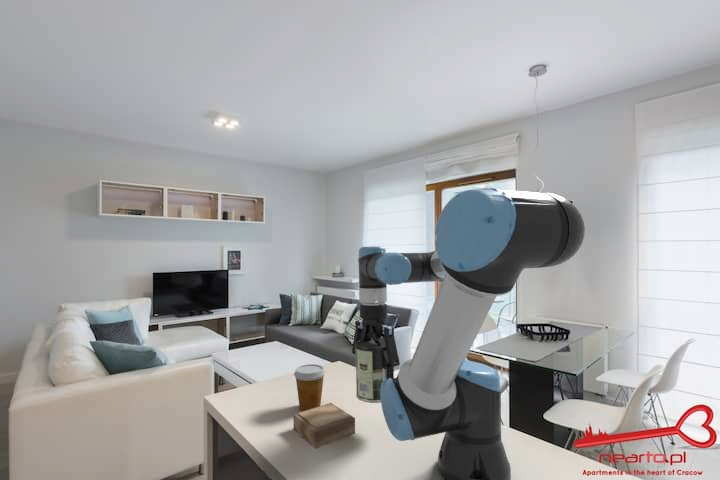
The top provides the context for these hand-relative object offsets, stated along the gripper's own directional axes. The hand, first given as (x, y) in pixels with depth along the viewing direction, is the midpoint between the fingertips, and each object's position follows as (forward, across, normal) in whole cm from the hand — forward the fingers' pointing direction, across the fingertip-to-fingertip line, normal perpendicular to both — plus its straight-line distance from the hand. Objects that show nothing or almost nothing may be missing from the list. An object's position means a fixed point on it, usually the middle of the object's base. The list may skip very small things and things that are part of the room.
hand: (374, 386), depth 97 cm
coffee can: (+3, 0, 0) cm, 3 cm away
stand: (+12, +9, +11) cm, 18 cm away
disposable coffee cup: (+12, +24, +7) cm, 27 cm away
